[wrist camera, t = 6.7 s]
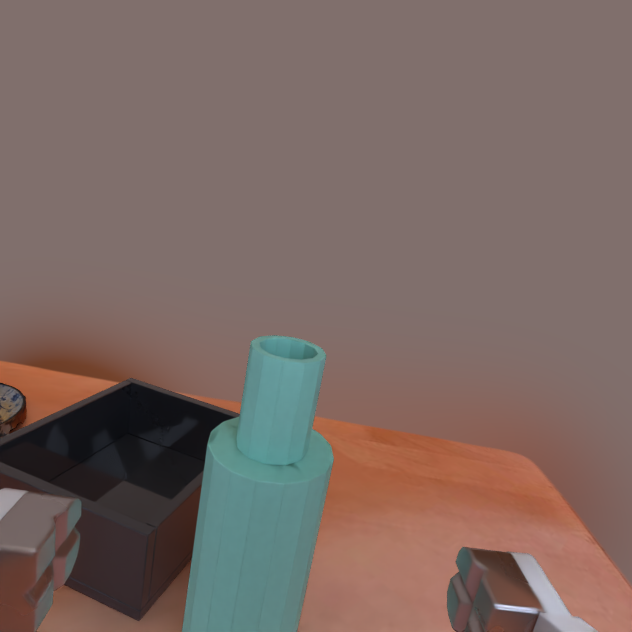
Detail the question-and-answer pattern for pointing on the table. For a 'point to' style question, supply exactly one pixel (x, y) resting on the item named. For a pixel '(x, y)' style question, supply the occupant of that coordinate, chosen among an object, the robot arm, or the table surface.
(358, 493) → the table surface
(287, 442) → the bottle
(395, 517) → the table surface
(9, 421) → the plate with bun salad
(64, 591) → the table surface
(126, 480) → the dark open tray box
